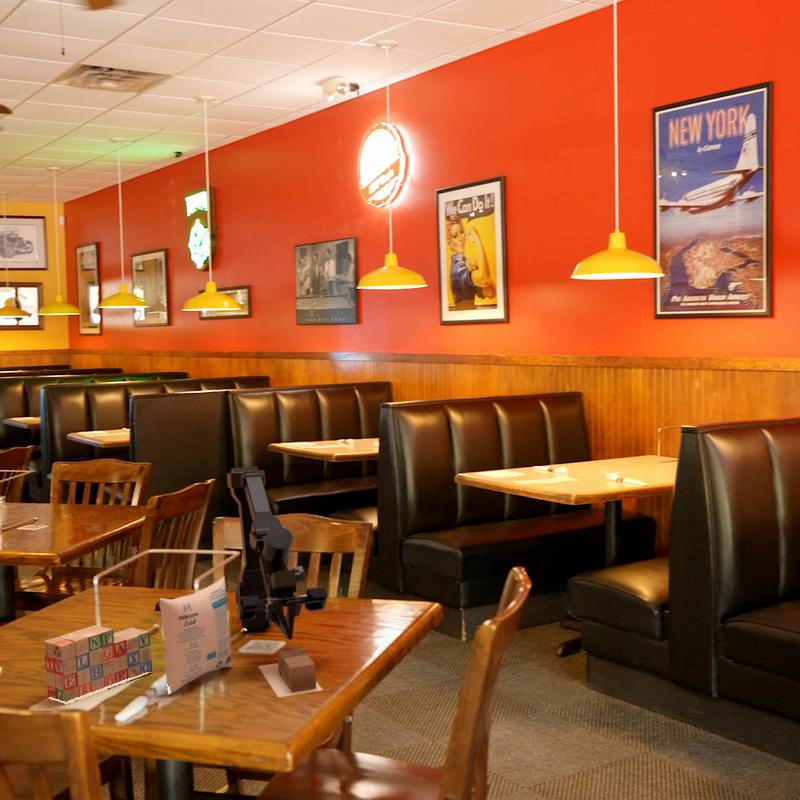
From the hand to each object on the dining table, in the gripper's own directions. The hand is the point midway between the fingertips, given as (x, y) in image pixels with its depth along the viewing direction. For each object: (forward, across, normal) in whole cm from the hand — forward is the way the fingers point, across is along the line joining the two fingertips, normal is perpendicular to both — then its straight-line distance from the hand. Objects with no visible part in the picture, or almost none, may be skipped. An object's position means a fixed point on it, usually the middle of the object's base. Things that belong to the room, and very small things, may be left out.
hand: (290, 638), depth 208 cm
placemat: (+7, -1, +5) cm, 8 cm away
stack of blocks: (-3, -38, +15) cm, 40 cm away
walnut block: (+2, 0, +5) cm, 6 cm away
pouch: (+2, -18, +10) cm, 21 cm away
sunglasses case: (-38, -12, +51) cm, 65 cm away
